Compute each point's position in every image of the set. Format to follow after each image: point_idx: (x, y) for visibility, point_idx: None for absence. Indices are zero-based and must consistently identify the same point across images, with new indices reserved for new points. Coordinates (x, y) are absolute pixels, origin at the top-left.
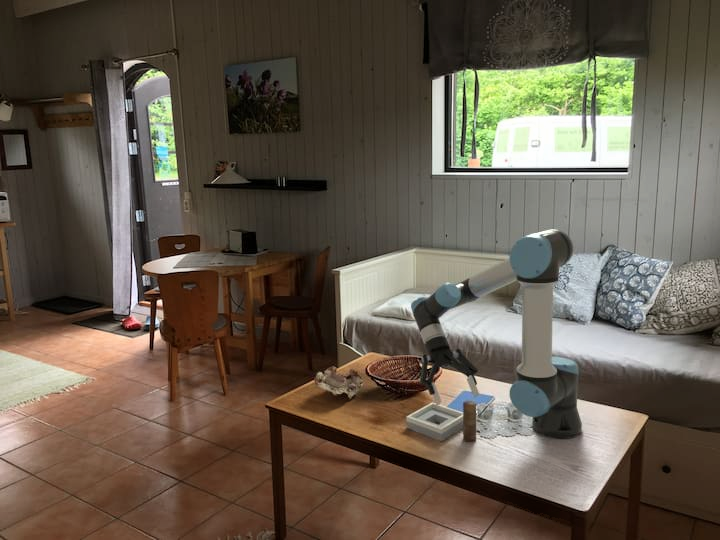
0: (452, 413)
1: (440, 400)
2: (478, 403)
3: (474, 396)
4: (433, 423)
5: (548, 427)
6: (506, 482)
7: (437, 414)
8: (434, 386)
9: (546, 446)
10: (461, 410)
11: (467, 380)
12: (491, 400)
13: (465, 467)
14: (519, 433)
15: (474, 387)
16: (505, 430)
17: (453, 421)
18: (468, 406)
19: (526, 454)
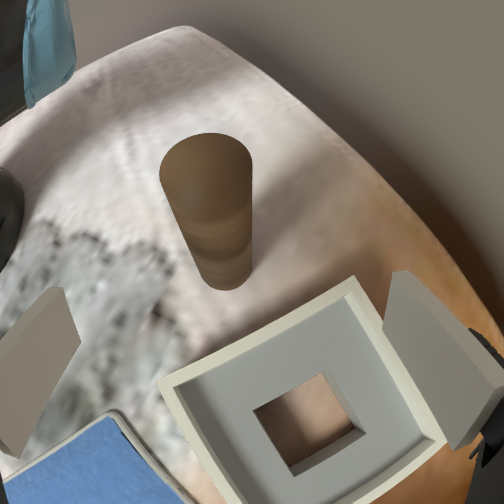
0: (209, 446)
1: (401, 275)
2: (52, 492)
3: (76, 333)
4: (344, 389)
5: (7, 181)
6: (252, 72)
7: (283, 471)
8: (479, 353)
9: (61, 158)
10: (134, 492)
11: (22, 441)
12: (10, 477)
13: (319, 133)
14: (55, 240)
15: (34, 319)
16: (72, 275)
17: (264, 330)
18: (235, 139)
19: (127, 137)
